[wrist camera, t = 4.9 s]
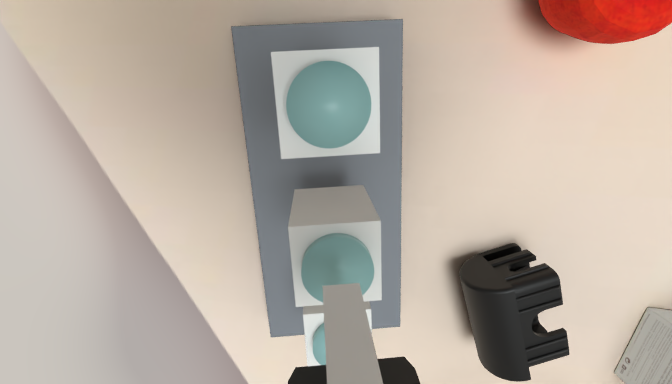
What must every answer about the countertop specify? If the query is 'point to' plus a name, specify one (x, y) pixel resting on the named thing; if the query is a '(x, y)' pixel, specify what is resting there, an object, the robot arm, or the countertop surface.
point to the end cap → (511, 311)
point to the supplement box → (649, 351)
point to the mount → (317, 172)
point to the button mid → (334, 242)
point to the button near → (327, 101)
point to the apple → (607, 18)
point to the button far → (319, 333)
